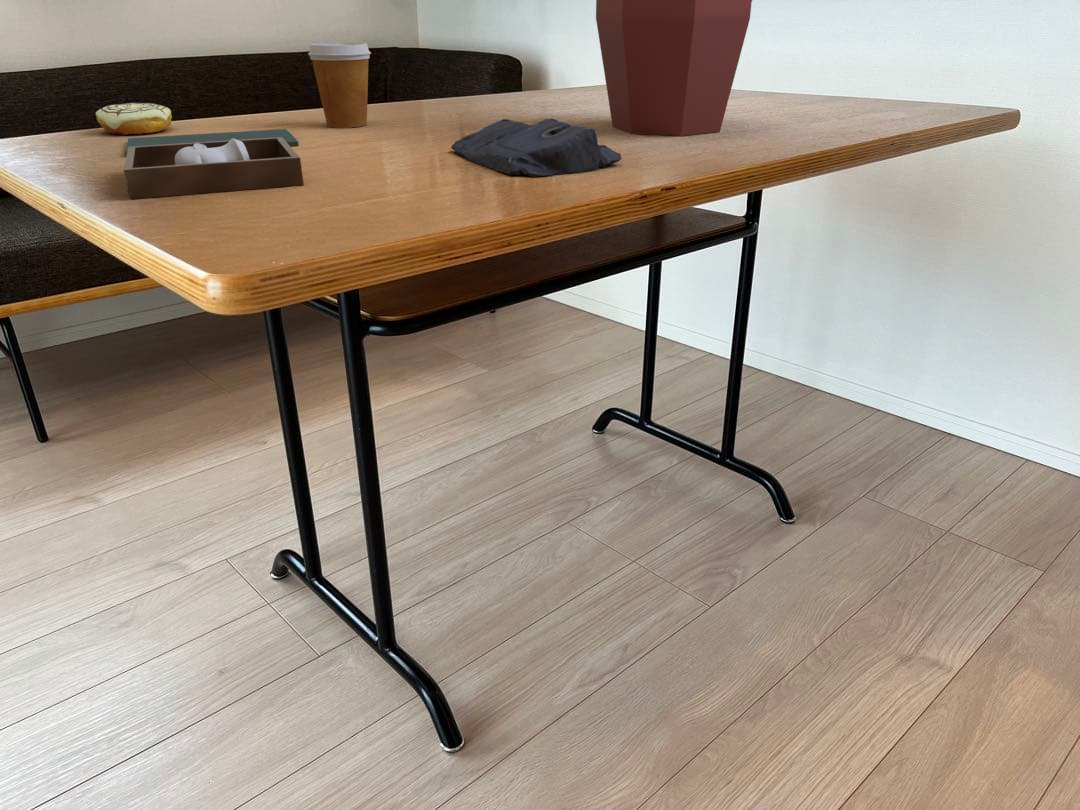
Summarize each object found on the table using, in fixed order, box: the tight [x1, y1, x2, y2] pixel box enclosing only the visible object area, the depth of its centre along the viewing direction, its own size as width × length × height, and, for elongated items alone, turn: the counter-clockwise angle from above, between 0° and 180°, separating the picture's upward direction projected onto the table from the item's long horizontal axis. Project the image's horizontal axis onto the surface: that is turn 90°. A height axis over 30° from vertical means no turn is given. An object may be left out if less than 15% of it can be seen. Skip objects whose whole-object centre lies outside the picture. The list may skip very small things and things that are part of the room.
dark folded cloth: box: [450, 118, 623, 178], centre depth 105 cm, size 15×22×5 cm
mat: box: [124, 128, 300, 158], centre depth 117 cm, size 22×13×1 cm, turn 112°
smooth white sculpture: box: [175, 138, 250, 165], centre depth 95 cm, size 4×8×5 cm
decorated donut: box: [95, 102, 173, 136], centre depth 128 cm, size 10×11×4 cm
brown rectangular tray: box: [123, 137, 304, 200], centre depth 95 cm, size 18×16×3 cm
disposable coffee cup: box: [307, 41, 372, 129], centre depth 131 cm, size 10×10×12 cm
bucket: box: [595, 0, 753, 137], centre depth 123 cm, size 24×22×25 cm
